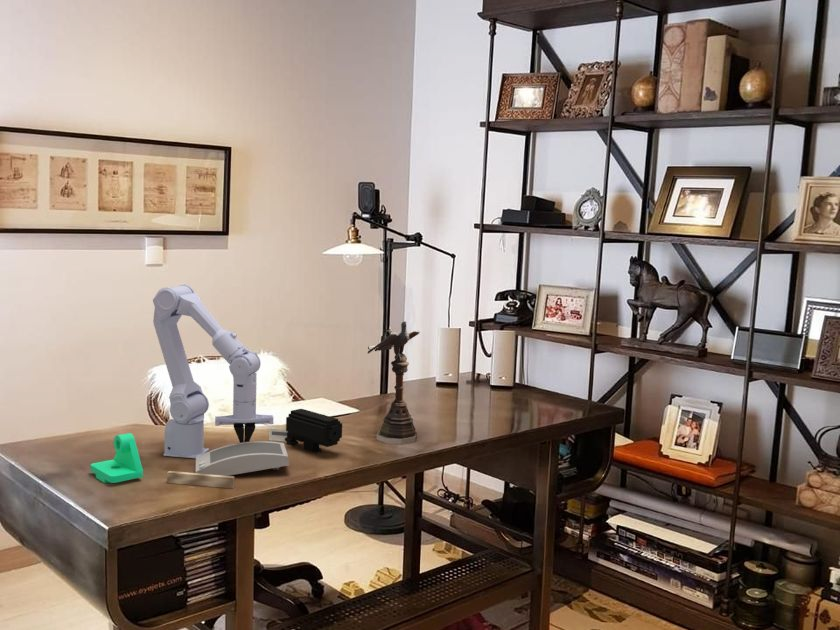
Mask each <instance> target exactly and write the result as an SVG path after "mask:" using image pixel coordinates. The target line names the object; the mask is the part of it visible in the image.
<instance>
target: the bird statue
mask: <svg viewBox="0 0 840 630" xmlns="http://www.w3.org/2000/svg"><path fill="white" fill-rule="evenodd" d="M400 324H401V325H400V328H401V331H400V333H398V332H393V330H392V328H391V326H389V328H388V330H387V332H388V336H387V337H385V339H383V340H382V341H381V342H379V343H378V344H376V345H368V347H367V349H368V351H367V354H368V355H369V354H370V353H371V352H373V351H374V352H378V351H381V352H383V351H386V350H387V351H388V350H392V349H393V352H394V358H393V359H394V360H393V361H391V363H390V364H391V371H392V372H393V373H394V374H395V386H393V387H394V388H393V389H395V393H394V394H395V398H394V400H393V401H392V402H391V404H390V408H389V410H388V412H387V413H386V415H385V416H384V417H383V419H382V421H383V423H382V425H381V427H380V429H379V430H378V431H377V433H376V440H377V441H379V442H382V443H384V444H388V445H400V446H401V445H407V444H412V443H416V441H417V439H418V438H417V437H418V432H417V431H416V428H415V425H414V422H413V421H414V418H412V415H411V414H410V412H409V409H408V406H407V405H408V404H407V403H406V401H404V397H403V396H404V389H405V386H404V375H405V373H407V372H408V366H409V364H410V363H409V361H407V356H406V354H405V353H404V350H405V345H406V344H407V343H408V342H409V341H410V340H412V339H413V338H415V337H416V336H418V335H419V334H421V333H420V331H419V330H413V331H411V332H409V331H408V329H407V321H402V322H401V323H400Z"/></svg>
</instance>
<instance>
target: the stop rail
mask: <svg viewBox="0 0 840 630" xmlns="http://www.w3.org/2000/svg"><path fill="white" fill-rule="evenodd" d="M235 479H236V478H235V476H234V475H229V476H223V475H211V474H199V473H196V472H187V471H174V470H173V471H172V470H169V471H167V472H166V483H167V484H175V485H176V484H179V485H190V486H198V487H199V486H202V487H212V488H222V489H223V488H224V489H234V488H235Z"/></svg>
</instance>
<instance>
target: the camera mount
mask: <svg viewBox="0 0 840 630" xmlns="http://www.w3.org/2000/svg"><path fill="white" fill-rule="evenodd" d="M113 448H114V450H115V454H114V458H113V459H108V460H103V461H99V462H98V461H97V462H93V463H91V464H90V472H91V473H93V474H95V479H96V480H97V479H98V480H99V481H100V482H102V483H104V484H106V483H112V484H113V483H115V484H116V483H120V482H126V481H129V480H135V479H139V478H143V477H144V468H143V466H142V462H141V457H140V454H139V451H138V447H137V443H136V439H135V436H134V435H133V433H132V432H128V433H124V434H123V433H122V434H116V435H115V436H114V437H113Z"/></svg>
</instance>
